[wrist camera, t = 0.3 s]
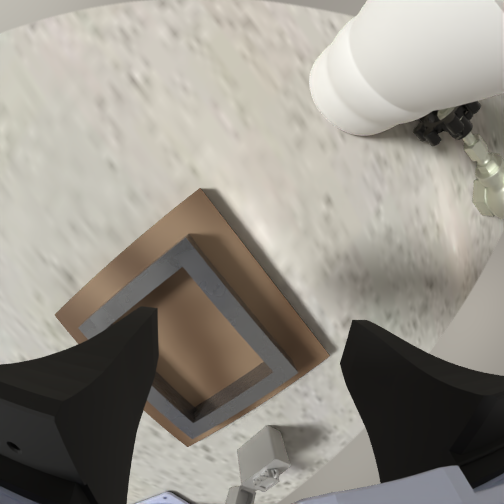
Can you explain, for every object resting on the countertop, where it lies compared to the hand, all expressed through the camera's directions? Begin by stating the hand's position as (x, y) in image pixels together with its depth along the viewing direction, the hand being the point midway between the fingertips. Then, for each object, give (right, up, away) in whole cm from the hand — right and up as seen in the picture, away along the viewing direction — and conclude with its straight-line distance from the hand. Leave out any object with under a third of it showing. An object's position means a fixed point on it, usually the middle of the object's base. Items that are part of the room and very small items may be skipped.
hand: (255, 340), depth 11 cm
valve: (+18, +11, +11) cm, 24 cm away
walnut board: (-4, -3, +11) cm, 12 cm away
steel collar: (-4, -3, +10) cm, 11 cm away
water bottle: (+7, +15, +9) cm, 19 cm away
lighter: (0, -14, +13) cm, 20 cm away
